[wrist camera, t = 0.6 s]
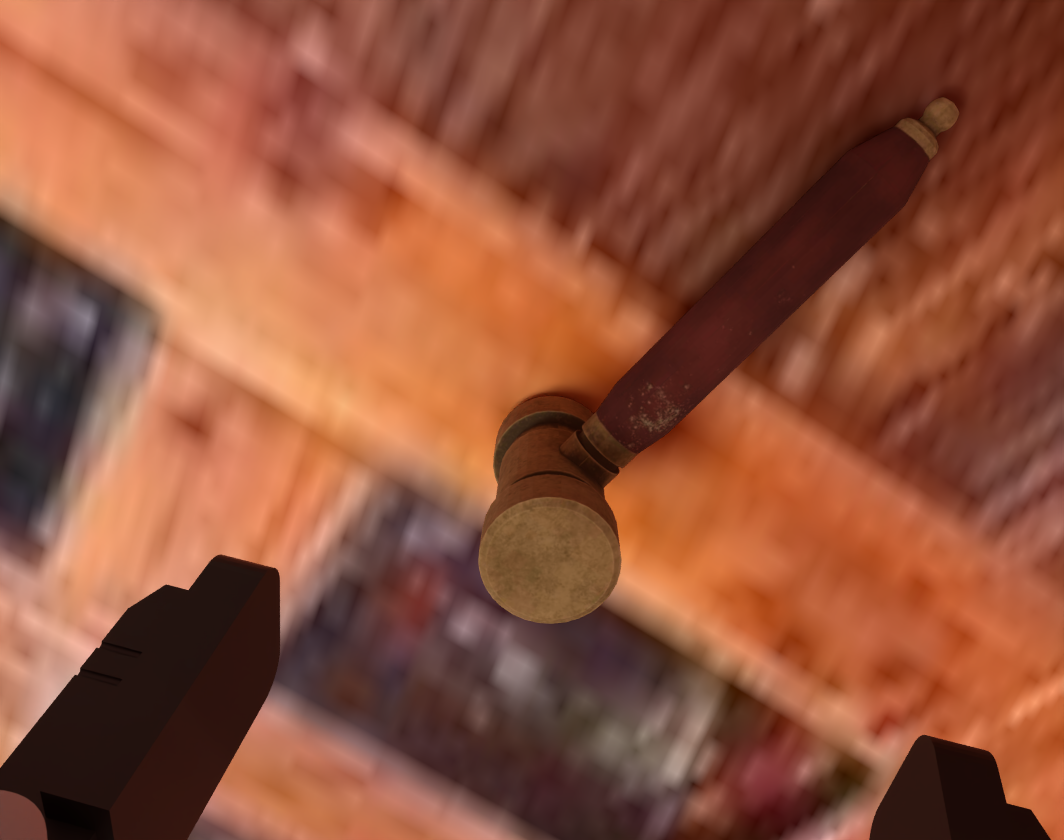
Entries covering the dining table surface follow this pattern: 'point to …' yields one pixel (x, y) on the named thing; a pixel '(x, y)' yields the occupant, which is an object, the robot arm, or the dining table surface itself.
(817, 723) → the dining table surface
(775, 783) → the dining table surface
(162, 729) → the robot arm
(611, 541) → the gavel
